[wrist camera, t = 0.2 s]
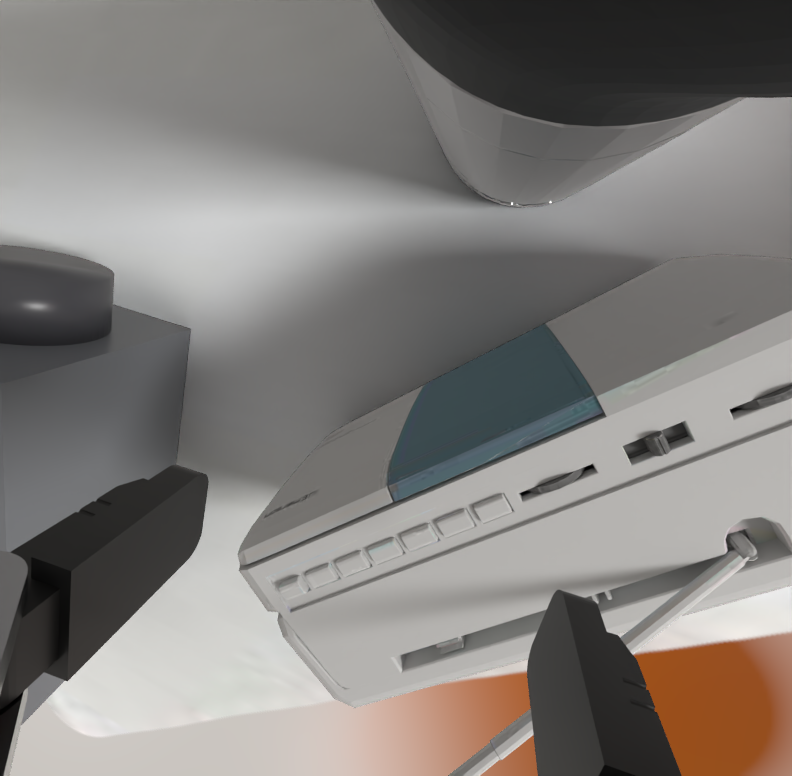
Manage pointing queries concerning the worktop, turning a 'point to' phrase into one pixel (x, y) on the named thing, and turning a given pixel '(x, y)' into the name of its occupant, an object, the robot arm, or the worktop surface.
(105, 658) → the worktop surface
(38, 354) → the camera housing
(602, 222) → the worktop surface
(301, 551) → the stereo radio cassette player
